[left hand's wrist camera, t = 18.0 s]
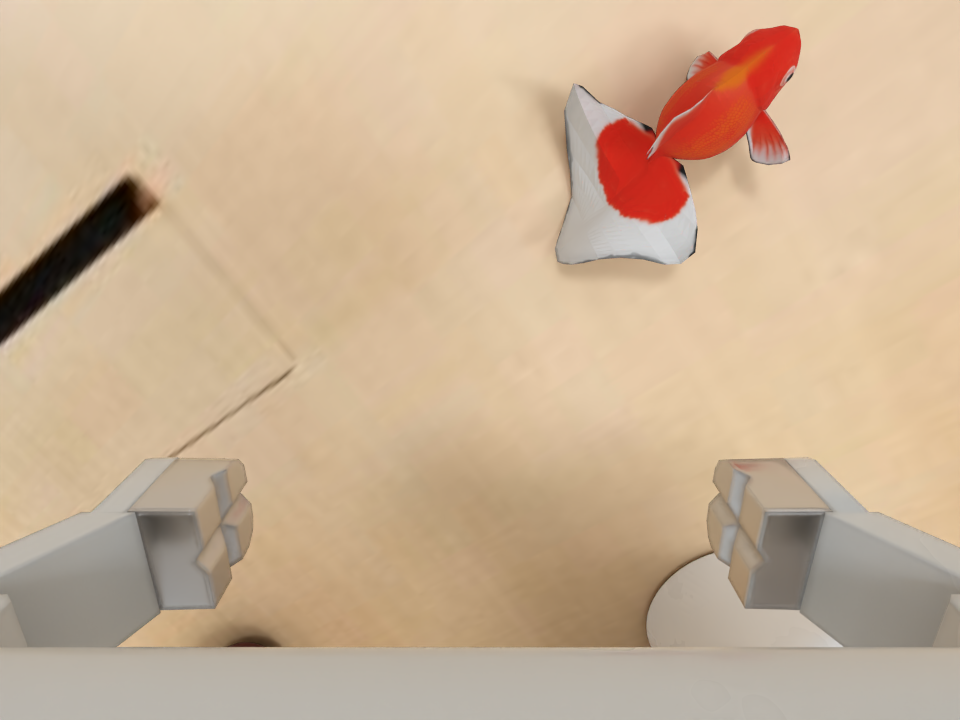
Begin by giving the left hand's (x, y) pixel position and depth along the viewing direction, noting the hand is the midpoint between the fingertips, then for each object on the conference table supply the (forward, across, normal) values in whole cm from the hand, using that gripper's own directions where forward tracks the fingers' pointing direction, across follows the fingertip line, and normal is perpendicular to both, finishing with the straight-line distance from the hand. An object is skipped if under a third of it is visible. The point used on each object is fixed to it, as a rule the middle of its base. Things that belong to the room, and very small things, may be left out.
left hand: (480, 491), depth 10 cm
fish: (+30, +10, +4) cm, 31 cm away
